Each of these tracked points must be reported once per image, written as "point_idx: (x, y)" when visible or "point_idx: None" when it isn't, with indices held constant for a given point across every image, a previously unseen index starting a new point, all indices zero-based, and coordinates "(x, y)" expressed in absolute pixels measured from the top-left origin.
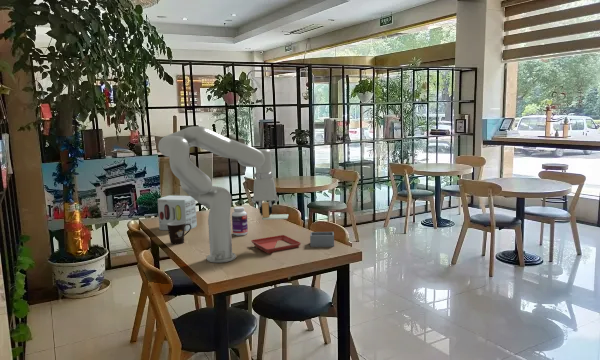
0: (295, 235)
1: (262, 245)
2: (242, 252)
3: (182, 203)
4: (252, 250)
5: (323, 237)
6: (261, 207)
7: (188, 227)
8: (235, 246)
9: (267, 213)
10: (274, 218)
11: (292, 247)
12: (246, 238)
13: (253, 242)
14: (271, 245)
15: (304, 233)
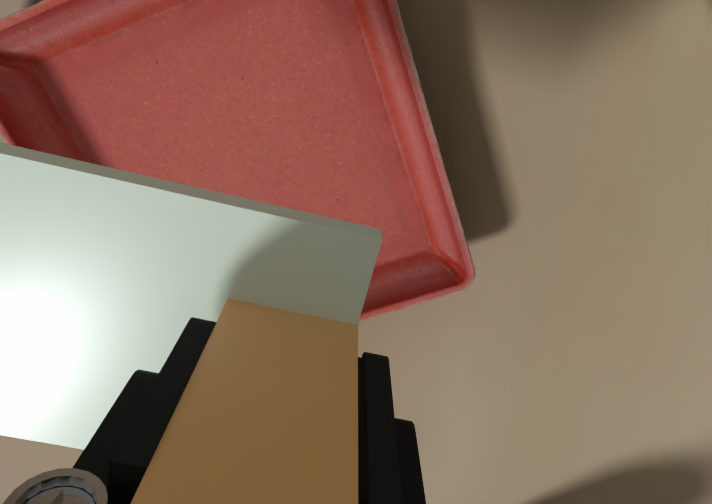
0: (83, 449)
1: (368, 220)
2: (582, 73)
3: None
4: (476, 117)
5: None
6: (381, 500)
7: None
8: (595, 286)
9: (241, 350)
10: (111, 176)
11: (67, 24)
12: (463, 466)
13: (458, 223)
14: (285, 199)
15: (16, 478)
